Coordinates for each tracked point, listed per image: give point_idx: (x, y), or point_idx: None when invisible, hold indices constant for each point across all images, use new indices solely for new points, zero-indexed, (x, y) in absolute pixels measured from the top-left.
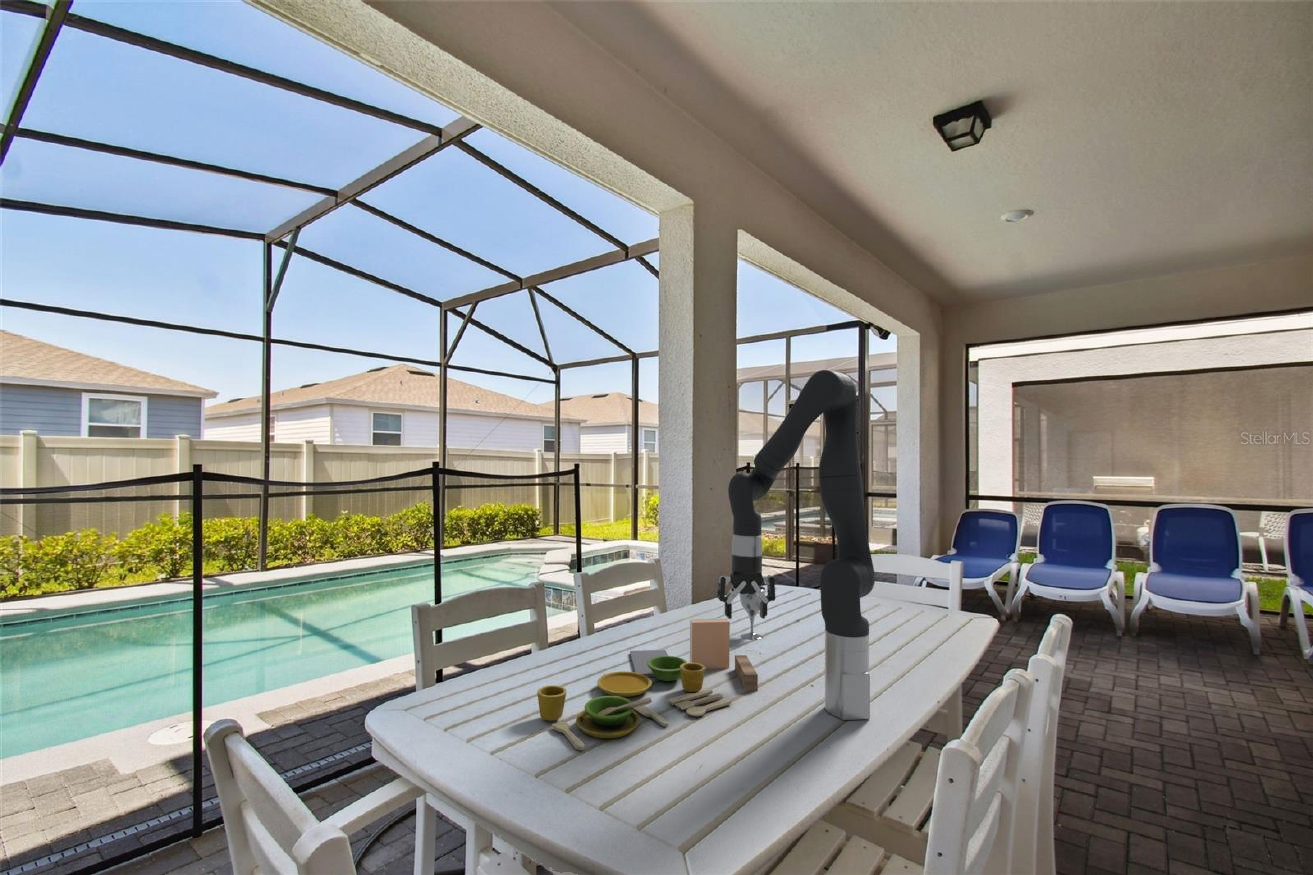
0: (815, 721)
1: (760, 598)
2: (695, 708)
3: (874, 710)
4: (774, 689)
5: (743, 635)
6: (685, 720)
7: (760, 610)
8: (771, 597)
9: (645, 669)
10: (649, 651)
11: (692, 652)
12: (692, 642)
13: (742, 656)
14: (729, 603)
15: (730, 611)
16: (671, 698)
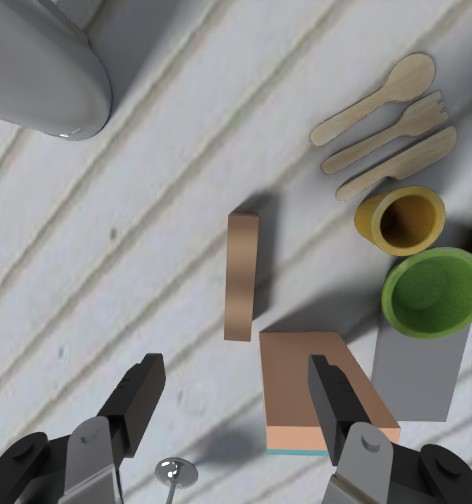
0: (147, 36)
1: (118, 480)
2: (408, 88)
3: None
4: (194, 218)
5: (192, 477)
6: (437, 51)
7: (152, 401)
8: (26, 460)
9: None
10: (405, 415)
11: (351, 355)
12: (364, 374)
13: (234, 333)
14: (359, 424)
15: (328, 380)
16: (448, 149)
